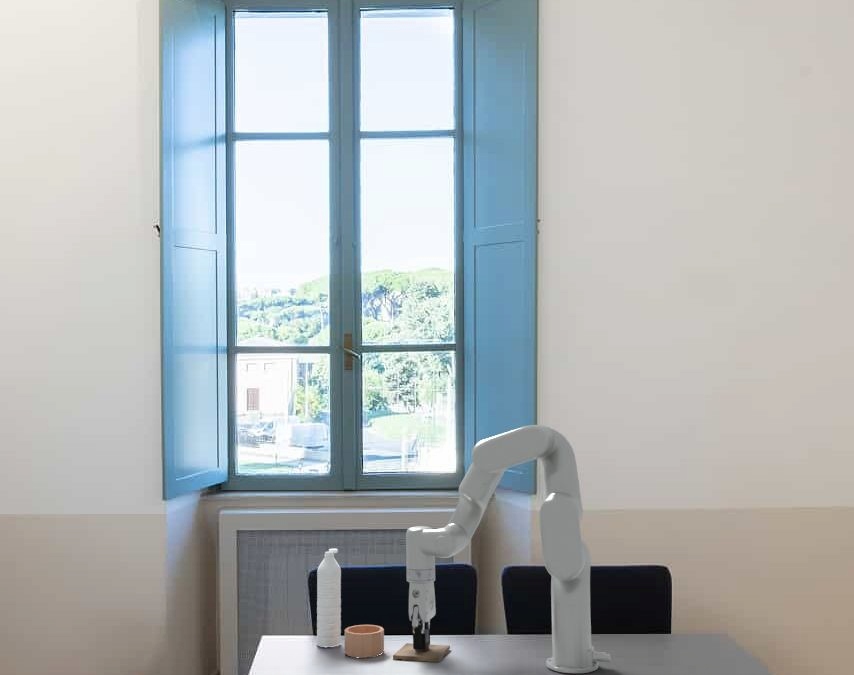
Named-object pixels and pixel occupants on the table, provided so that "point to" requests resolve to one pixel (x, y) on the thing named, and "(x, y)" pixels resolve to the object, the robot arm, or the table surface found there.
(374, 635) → the bowl
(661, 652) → the table surface
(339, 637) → the water bottle
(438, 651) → the lid
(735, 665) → the table surface
